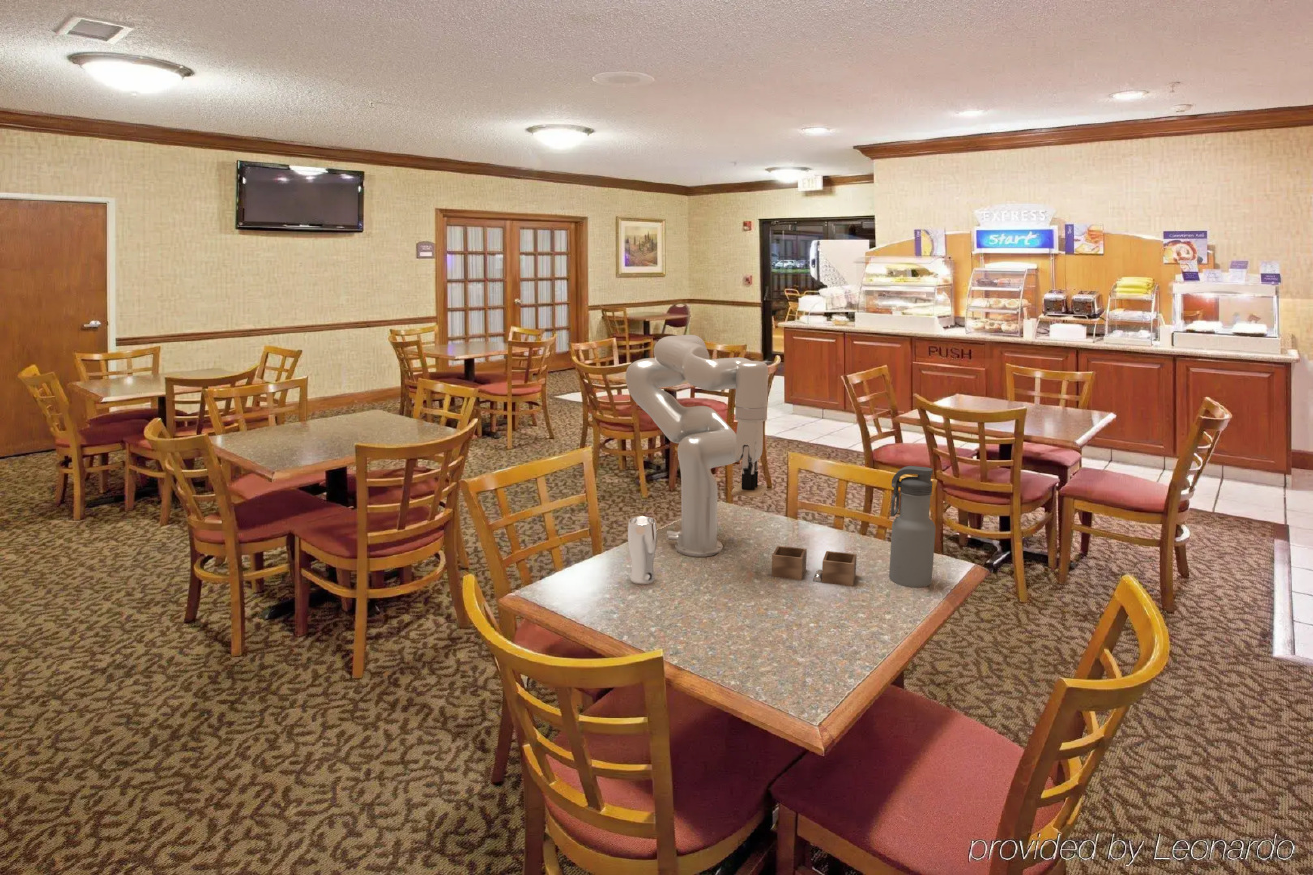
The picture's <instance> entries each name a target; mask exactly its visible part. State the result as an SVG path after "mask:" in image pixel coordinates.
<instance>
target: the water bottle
mask: <svg viewBox="0 0 1313 875" xmlns="http://www.w3.org/2000/svg"><path fill="white" fill-rule="evenodd" d="M933 472H934V470H933V468H931V467H927V466H926V467H925V466H917V465H916V466H915V465H914V466H913V465H907V466H904V467H902V468H900V469H899V470H898V471H897V472H896V473H895V474H894V476H893V477H892V479H891V487H892V488H893V494H892V496H891V504H890V516H891V517H895V518H894V519H893V521H892V522H891V523H892V524H891V534H890V535H891V537H890V540H891V541H890V554H889V555H890V558H889V574H888V576H889V579H890V581H891V582H893V583H894V584H896V585H899V586H901V587H902V586H903V587H907V588H924V587H929V586H930V585H932V581H933V573H934V572H933V571H934V570H933V568H934V555H935V541H936V525H935V522H934V521H933V520H932V519H930V509H931V508H930V507H931V496H932V495H933V494H932V492H933V481H932V476H933ZM905 475H914V476H906V477H903V478H901V477H902V476H905ZM915 475H917V476H915ZM900 479H901V480H900ZM899 488H900V490H899ZM898 512H899V515H898V516H897V517H896V515H897V514H898Z"/></svg>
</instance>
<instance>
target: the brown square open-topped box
mask: <svg viewBox="0 0 1313 875" xmlns="http://www.w3.org/2000/svg"><path fill="white" fill-rule="evenodd" d="M857 557H858V554H857V553H850V552H849V553H848V552H841V551H840V552H839V551H833V550H826V552H825V554H824V557H823V558H822V564H821V565H822V567H821V568H822V569H821V570H822V582H821V583H822V584H830V585H838V586H839V585H840V586H848V587H854V584H855V579H856V576H857Z"/></svg>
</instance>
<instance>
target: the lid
mask: <svg viewBox="0 0 1313 875" xmlns="http://www.w3.org/2000/svg"><path fill="white" fill-rule="evenodd" d="M767 490H768V485H765V484H764V485H763V484H762V485H761V484H758V486H757V487H755V490H743V489H742V483H741V482H740V483H737V484H736V485H735V486H734V487H733V489H732V490H731V496H740V497H741V496H742V497H754V498H762V497H763V495H765V493H766V491H767Z"/></svg>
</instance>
